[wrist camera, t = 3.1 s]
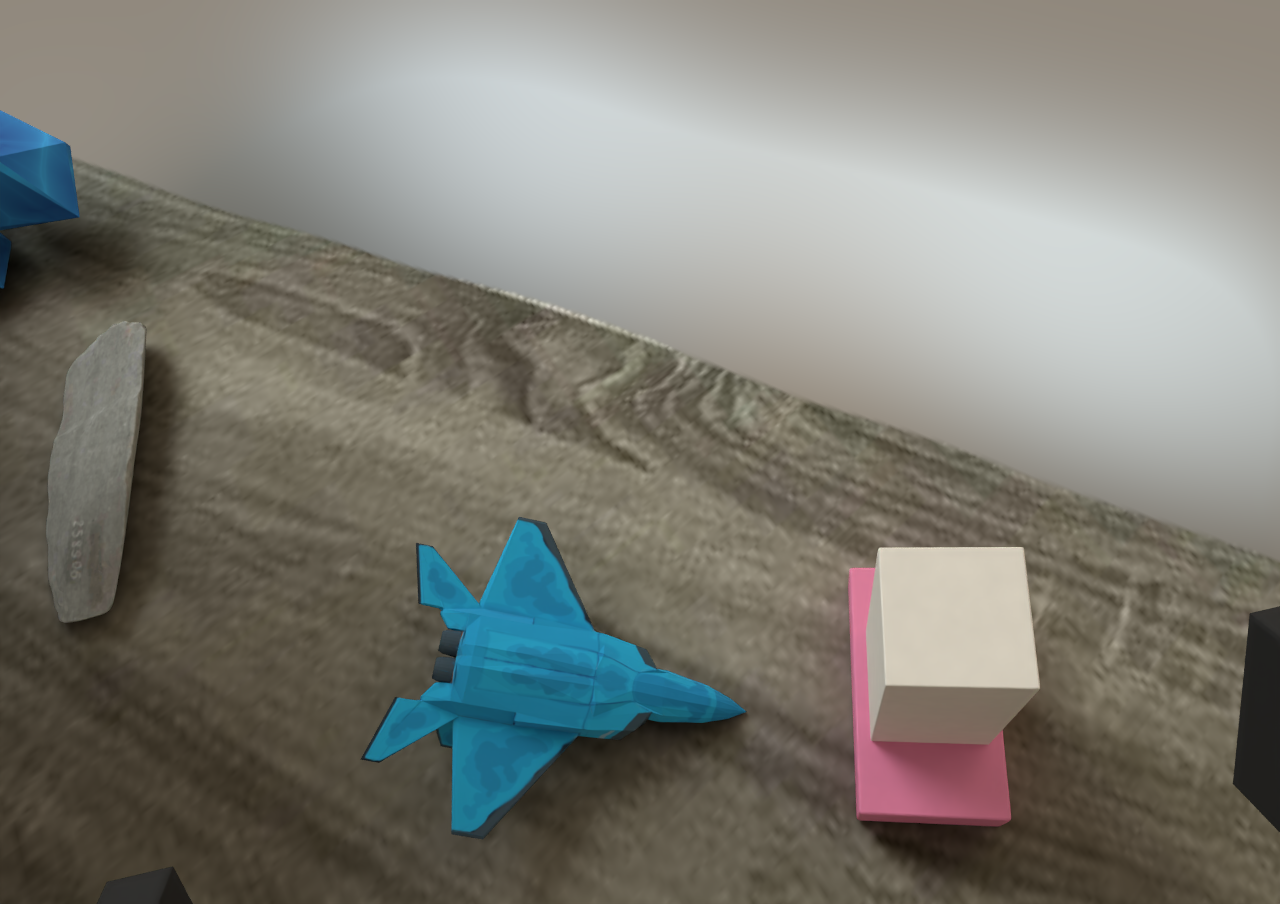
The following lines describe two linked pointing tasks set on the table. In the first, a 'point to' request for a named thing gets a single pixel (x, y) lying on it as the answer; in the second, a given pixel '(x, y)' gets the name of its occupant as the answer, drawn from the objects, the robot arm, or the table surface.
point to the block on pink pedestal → (938, 681)
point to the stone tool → (94, 472)
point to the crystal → (32, 181)
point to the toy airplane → (527, 680)
